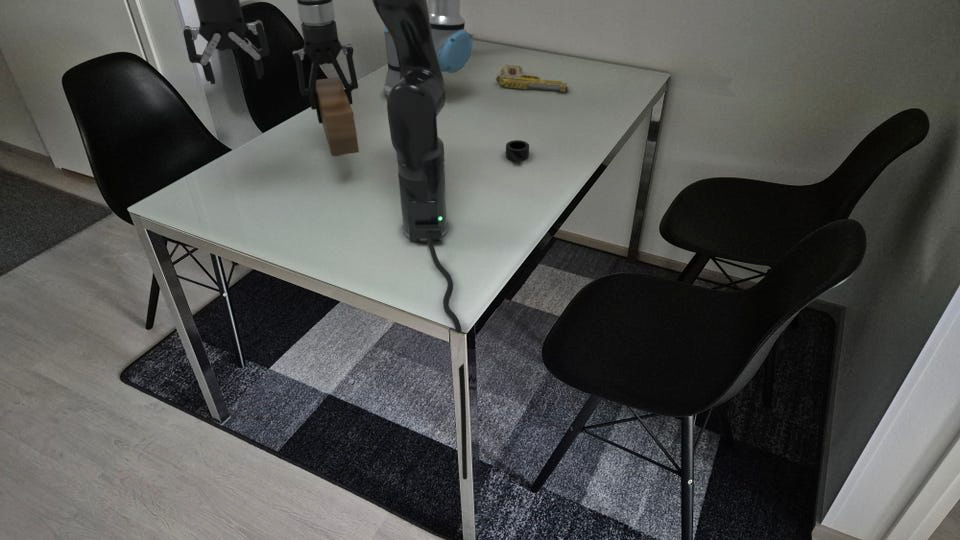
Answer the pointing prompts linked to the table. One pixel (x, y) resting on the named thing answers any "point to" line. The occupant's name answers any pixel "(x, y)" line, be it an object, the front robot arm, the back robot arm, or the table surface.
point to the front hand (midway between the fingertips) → (236, 80)
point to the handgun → (527, 80)
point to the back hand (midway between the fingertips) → (334, 118)
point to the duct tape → (517, 150)
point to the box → (336, 117)
